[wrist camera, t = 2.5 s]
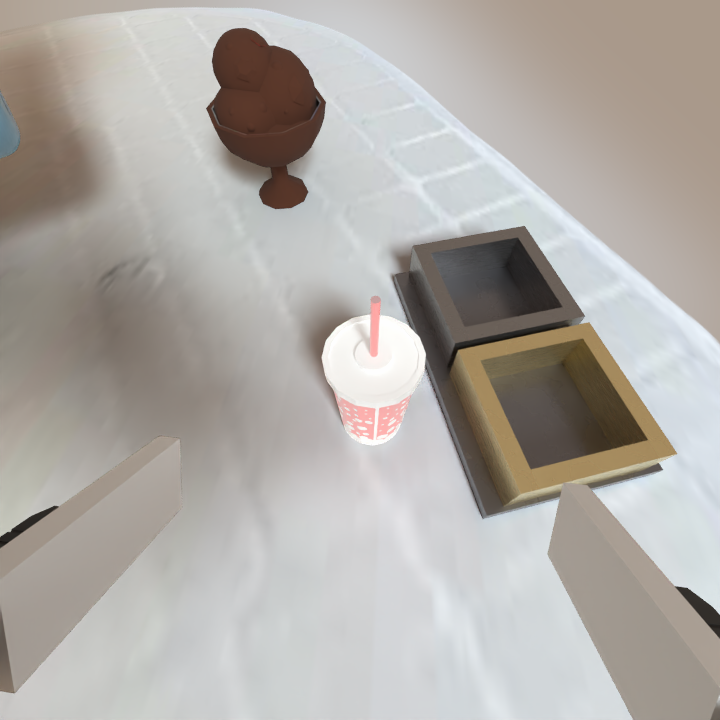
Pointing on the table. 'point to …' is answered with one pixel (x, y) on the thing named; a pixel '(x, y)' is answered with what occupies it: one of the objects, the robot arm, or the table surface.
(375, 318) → the beverage cup
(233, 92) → the ice cream bowl
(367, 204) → the table surface
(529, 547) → the table surface
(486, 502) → the square compartment tray
